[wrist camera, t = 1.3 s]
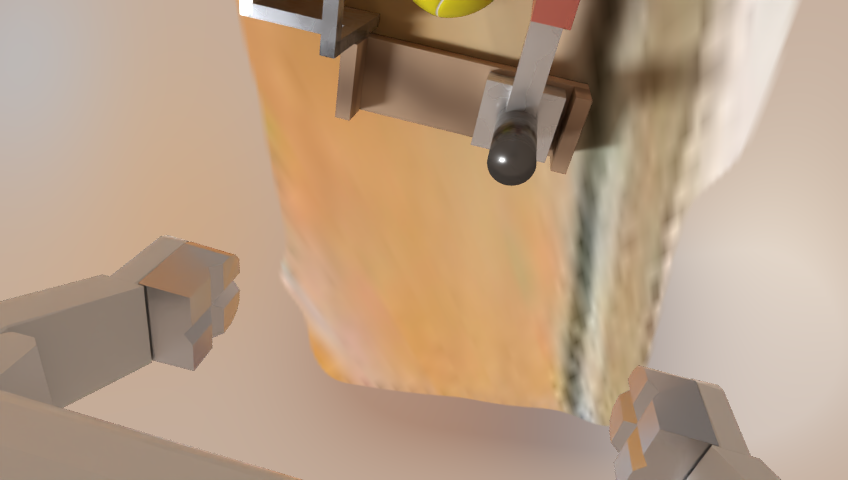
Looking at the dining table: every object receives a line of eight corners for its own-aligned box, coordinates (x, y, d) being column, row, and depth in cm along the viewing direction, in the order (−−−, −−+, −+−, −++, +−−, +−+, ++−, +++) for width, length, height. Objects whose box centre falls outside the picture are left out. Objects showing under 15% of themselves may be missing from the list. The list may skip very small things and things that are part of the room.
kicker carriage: (527, -81, 30) (522, -78, 23) (615, -62, 29) (638, -52, 22) (474, 133, 37) (457, 187, 30) (544, 150, 37) (544, 209, 29)
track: (358, 29, 36) (342, 41, 33) (588, 84, 35) (592, 101, 32) (351, 100, 39) (335, 117, 36) (563, 153, 38) (565, 174, 35)
